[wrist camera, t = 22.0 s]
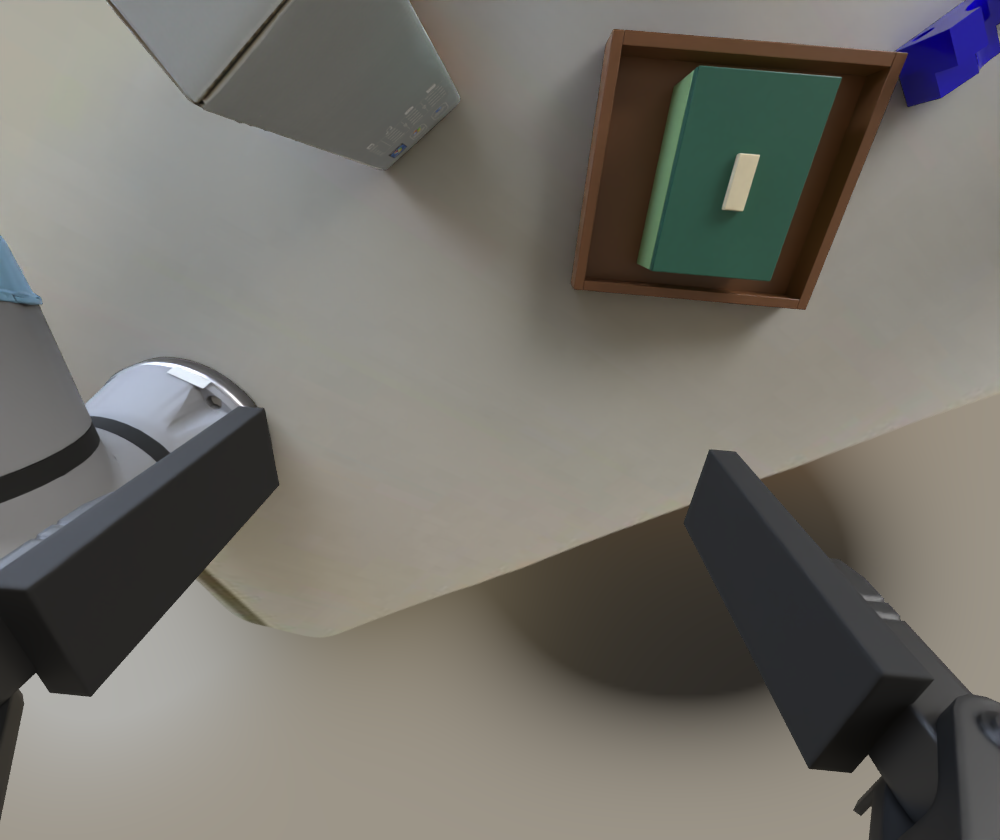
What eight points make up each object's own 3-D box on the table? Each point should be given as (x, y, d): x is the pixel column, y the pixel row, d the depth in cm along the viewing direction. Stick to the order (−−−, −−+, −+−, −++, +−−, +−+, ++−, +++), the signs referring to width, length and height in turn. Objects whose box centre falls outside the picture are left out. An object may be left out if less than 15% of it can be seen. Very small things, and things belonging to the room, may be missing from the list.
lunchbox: (654, 272, 28) (774, 282, 28) (702, 62, 23) (849, 74, 23) (636, 263, 32) (739, 272, 32) (673, 86, 27) (796, 96, 27)
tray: (570, 284, 34) (573, 289, 32) (605, 43, 27) (613, 28, 25) (786, 303, 34) (805, 310, 31) (877, 65, 27) (908, 52, 25)
